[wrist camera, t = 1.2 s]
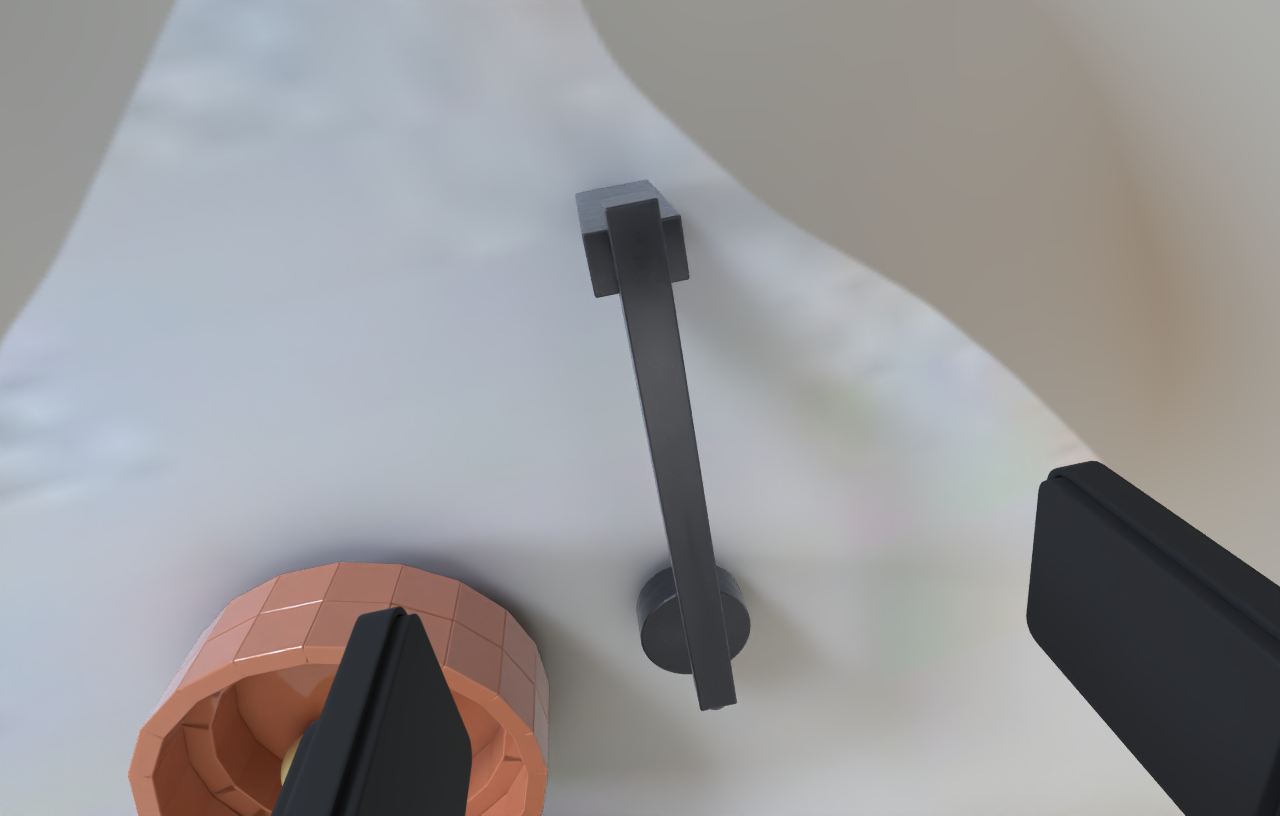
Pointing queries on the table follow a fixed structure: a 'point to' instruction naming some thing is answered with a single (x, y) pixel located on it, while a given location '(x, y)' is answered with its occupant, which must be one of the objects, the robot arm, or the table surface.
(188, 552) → the table surface
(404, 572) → the bowl
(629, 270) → the black lever handle
